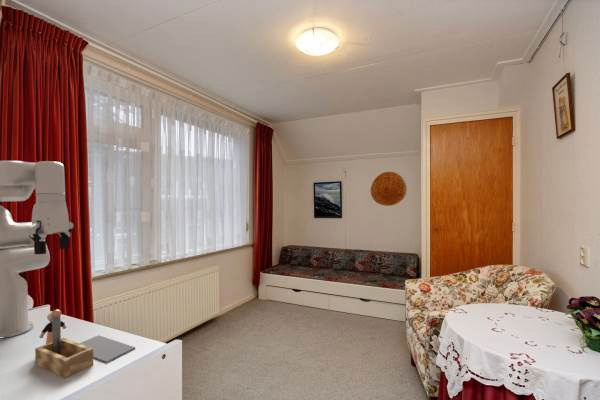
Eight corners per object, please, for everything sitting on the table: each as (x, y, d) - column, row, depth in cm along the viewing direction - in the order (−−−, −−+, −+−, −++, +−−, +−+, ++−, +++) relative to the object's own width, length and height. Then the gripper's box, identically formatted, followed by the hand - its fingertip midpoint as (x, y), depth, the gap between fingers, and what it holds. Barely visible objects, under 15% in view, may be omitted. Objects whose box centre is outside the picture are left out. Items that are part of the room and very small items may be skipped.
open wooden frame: (35, 364, 93) (35, 348, 93) (63, 352, 100) (63, 337, 100) (65, 378, 86) (65, 360, 86) (93, 364, 93) (93, 348, 93)
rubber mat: (69, 348, 102) (69, 347, 102) (98, 336, 111) (98, 335, 111) (106, 363, 94) (106, 361, 94) (135, 348, 102) (135, 347, 102)
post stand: (48, 362, 94) (47, 310, 93) (59, 357, 97) (58, 307, 96) (54, 365, 93) (53, 312, 92) (65, 360, 95) (64, 308, 95)
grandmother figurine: (47, 355, 98) (46, 316, 98) (38, 353, 99) (37, 315, 99) (69, 343, 106) (69, 307, 105) (60, 342, 106) (60, 306, 106)
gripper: (60, 199, 108) (62, 247, 108) (14, 199, 91) (17, 256, 91) (81, 198, 108) (83, 246, 108) (39, 199, 91) (42, 255, 91)
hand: (53, 251), depth 99 cm, fingers open, 9 cm apart
